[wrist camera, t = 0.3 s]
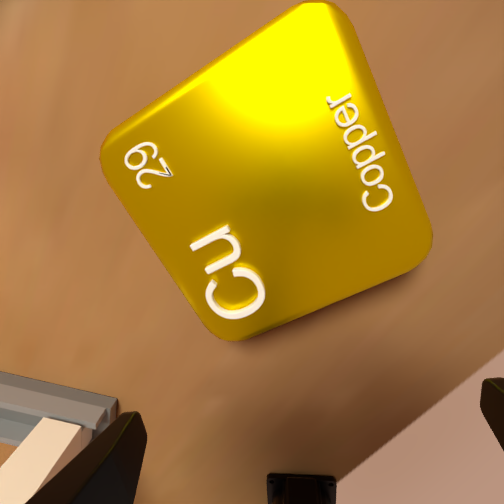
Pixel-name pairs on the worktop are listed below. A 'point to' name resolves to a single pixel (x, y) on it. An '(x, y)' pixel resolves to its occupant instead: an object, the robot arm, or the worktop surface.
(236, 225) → the element tile
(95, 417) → the switch base
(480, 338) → the worktop surface
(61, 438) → the tall lidded box
